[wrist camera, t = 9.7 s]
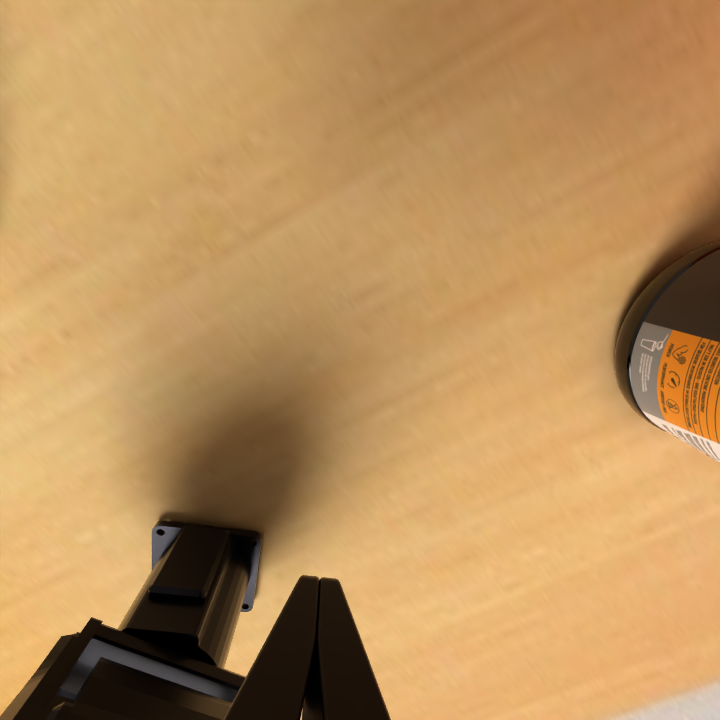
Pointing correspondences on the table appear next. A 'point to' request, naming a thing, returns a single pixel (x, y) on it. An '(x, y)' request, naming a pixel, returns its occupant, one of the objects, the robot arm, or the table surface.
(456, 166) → the table surface
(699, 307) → the supplement container
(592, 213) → the table surface
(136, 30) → the table surface
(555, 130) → the table surface
